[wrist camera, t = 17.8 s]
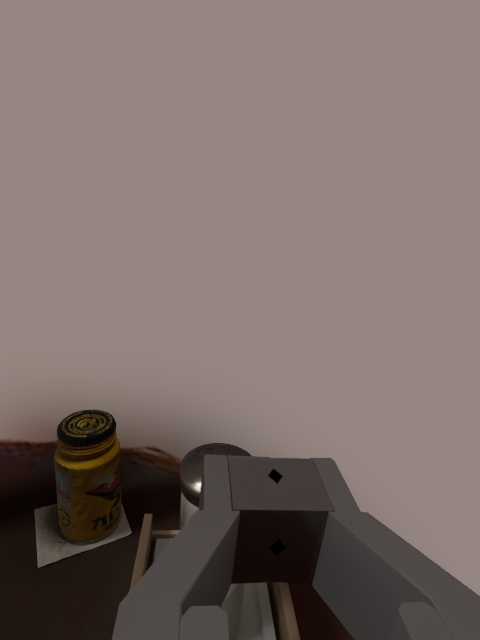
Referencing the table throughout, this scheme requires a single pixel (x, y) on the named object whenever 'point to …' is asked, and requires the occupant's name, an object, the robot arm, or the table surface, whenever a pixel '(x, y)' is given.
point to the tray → (245, 606)
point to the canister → (190, 505)
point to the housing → (277, 591)
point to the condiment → (83, 489)
